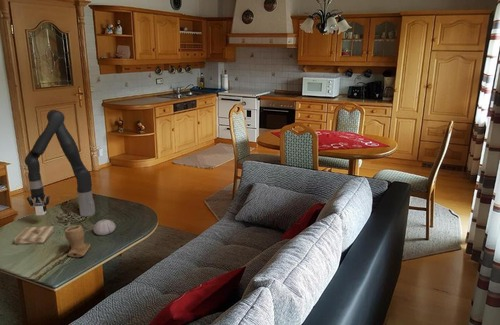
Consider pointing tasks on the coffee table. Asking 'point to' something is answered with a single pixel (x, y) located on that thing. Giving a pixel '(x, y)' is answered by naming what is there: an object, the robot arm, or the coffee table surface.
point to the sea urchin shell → (104, 227)
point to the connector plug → (39, 208)
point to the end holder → (34, 235)
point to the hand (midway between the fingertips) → (40, 211)
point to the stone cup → (76, 241)
